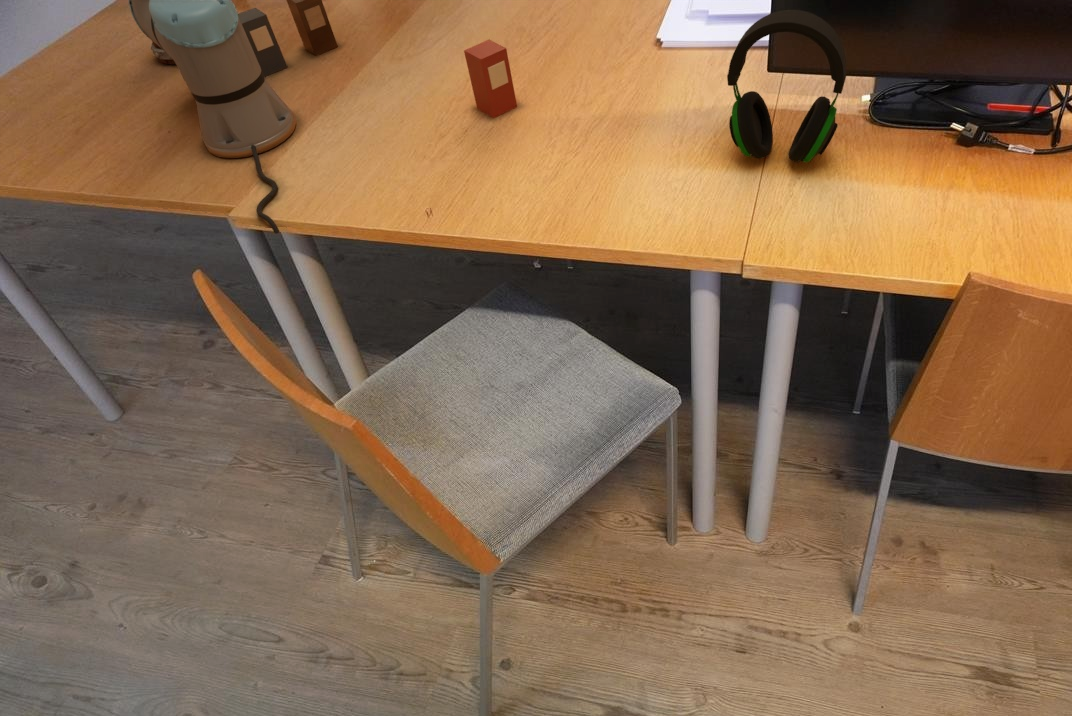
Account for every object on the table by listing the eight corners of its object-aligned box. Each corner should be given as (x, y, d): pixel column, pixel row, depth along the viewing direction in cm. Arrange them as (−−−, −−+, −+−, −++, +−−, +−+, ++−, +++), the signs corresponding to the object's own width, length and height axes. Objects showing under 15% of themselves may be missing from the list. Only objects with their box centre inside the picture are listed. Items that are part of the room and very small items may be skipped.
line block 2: (338, 47, 154) (320, -6, 146) (315, 56, 152) (296, 3, 144) (327, 39, 156) (308, -13, 149) (304, 48, 155) (284, -4, 147)
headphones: (828, 178, 109) (849, 35, 94) (719, 167, 113) (722, 29, 98) (837, 143, 114) (859, 2, 99) (733, 134, 119) (738, -2, 104)
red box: (517, 107, 131) (506, 48, 123) (493, 118, 129) (481, 59, 121) (500, 97, 134) (489, 39, 126) (476, 108, 132) (463, 50, 124)
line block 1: (288, 67, 150) (266, 14, 142) (264, 77, 148) (241, 24, 140) (277, 59, 152) (255, 7, 145) (253, 69, 151) (230, 16, 143)
